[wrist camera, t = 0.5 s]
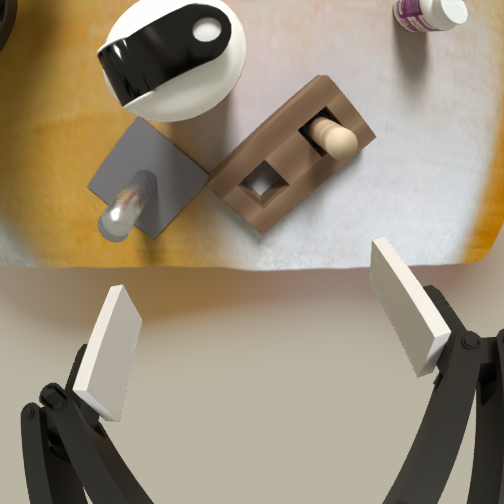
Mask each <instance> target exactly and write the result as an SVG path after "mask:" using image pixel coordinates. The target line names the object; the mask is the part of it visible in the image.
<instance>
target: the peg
mask: <svg viewBox="0 0 504 504" xmlns="http://www.w3.org/2000/svg"><path fill="white" fill-rule="evenodd" d="M156 186H157V178H156V176H155V175H154V174H153V173H152V172H151V171H149V170H140V171H138V172H137V173H136V174H135V175H134V176H133V177H132V179H131V180H130V181H129V182H128V183H127V184H126V186H125V187H124V188H123V189H122V190H121V192H120V193H119V194H118V195H117V196H116V198H115V199H114V200H113V201H112V203H111V204H110V205H109V206H108V208H107V209H106V210H105V211H104V213H103V214H102V215H101V216H100V218H99V220H98V229H99V232H100V233H101V235H102V236H103V237H104V238H105V239H107V240H108V241H111V242H121V241H123V240H125V239H126V238H127V236H128V234H129V233H130V231H131V229H132V227H133V225H134V224H135V222H136V220H137V218H138V217H139V215H140V213H141V211H142V210H143V208H144V206H145V205H146V203H147V201H148V200H149V198H150V196H151V195H152V193H153V191H154V190H155V188H156Z"/></svg>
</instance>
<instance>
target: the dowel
mask: <svg viewBox="0 0 504 504" xmlns="http://www.w3.org/2000/svg"><path fill="white" fill-rule="evenodd" d="M303 130H304V132H305V133H306V134H307V135H308V136H309V137H310V138H312V139H313V140H314V141H315V142H316V143H317V144H318V145H320V146H321V147H322V148H323V149H324V150H325V151H326V152H328V153H329V154H330V155H331V156H332V157H333V158H335V159H338V160H346V159H349V158H350V157H352V156H353V155H354V154H355V152H356V150H357V146H358V142H357V138H356V136H355V134H354V133H353V132H351V131H350V130H348V129H346V128H344V127H342V126H341V125H339V124H337V123H335V122H333V121H331V120H329V119H327V118H325V117H323V116H321V115H319V114H316V115H315V116H313V117H312V118H311V119H310V120H309V121H308V122H306V123H305V124H304V125H303Z"/></svg>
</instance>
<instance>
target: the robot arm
mask: <svg viewBox="0 0 504 504" xmlns="http://www.w3.org/2000/svg"><path fill="white" fill-rule="evenodd" d="M16 9H17V0H0V51H1V49H2V48H3V46H4V44H5V42H6V40H7V38H8V36H9V34H10V31H11V29H12V26H13V23H14V19H15V15H16ZM369 281H370V283H371V285H372V287H373V289H374V291H375V293H376V294H377V296H378V298H379V300H380V302H381V304H382V306H383V308H384V310H385V311H386V313H387V315H388V317H389V319H390V321H391V323H392V325H393V327H394V329H395V331H396V333H397V335H398V337H399V339H400V341H401V343H402V345H403V347H404V349H405V351H406V354H407V356H408V358H409V360H410V362H411V364H412V366H413V369H414V371H415V373H416V375H417V377H418V378H419V377H421V376H424V375H426V374H430V373H432V372H433V370H434V368H435V366H436V365H437V367H438V369H439V371H440V372H439V374H438V376H437V377H436V379H435V381H434V383H433V384H435V386H434V389H433V392H432V395H431V398H430V401H429V404H428V406H427V409H426V412H425V415H424V417H423V420H422V423H421V425H420V428H419V430H418V433H417V435H416V437H415V440H414V442H413V444H412V447H411V449H410V451H409V453H408V455H407V458H406V460H405V462H404V464H403V466H402V468H401V470H400V472H399V474H398V476H397V478H396V480H395V482H394V484H393V486H392V487H391V489H390V491H389V493H388V495H387V496H386V498H385V500H384V502H383V503H382V504H437V503H438V501H439V498H440V497H441V494H442V492H443V490H444V487H445V485H446V483H447V480H448V478H449V475H450V473H451V470H452V468H453V465H454V462H455V460H456V457H457V454H458V451H459V448H460V445H461V442H462V439H463V436H464V433H465V429H466V426H467V422H468V419H469V415H470V411H471V407H472V403H473V399H474V394H475V390H476V433H475V434H476V435H475V448H474V459H473V468H472V476H471V482H470V489H469V494H468V500H467V504H504V329H502V330H500V331H499V333H498V335H497V336H496V337H487V338H480V336H479V335H477V334H476V333H474V332H472V331H467V330H466V329H465V327H464V325H463V324H462V322H461V321H460V319H459V318H458V316H457V315H456V313H455V312H454V310H453V309H452V308H451V307H450V305H449V303H448V302H447V301H446V300H445V298H444V296H443V295H442V293H441V292H440V291H439V290H438V289H436V288H435V287H434V286H432V285H429V286H425V287H422V286H421V285H420V283H419V282H418V281H417V279H416V278H415V276H414V275H413V274H412V272H411V271H410V269H409V268H408V267H407V265H406V264H405V262H404V261H403V260H402V258H401V257H400V256H399V254H398V253H397V252H396V250H395V249H394V248H393V246H392V245H391V244H390V242H389V241H388V240H387V239H386V237H383V238H378V239H373V240H372V250H371V265H370V278H369ZM141 324H142V319H141V317H140V315H139V313H138V312H137V310H136V308H135V306H134V304H133V303H132V301H131V299H130V298H129V296H128V293H127V292H126V290H125V288H124V286H123V285H118V286H112V287H111V288H110V291H109V293H108V295H107V298H106V300H105V302H104V305H103V307H102V310H101V312H100V315H99V317H98V320H97V322H96V325H95V327H94V330H93V333H92V335H91V338H90V340H89V343H88V344H83V346H82V347H81V348H80V350H79V351H78V353H77V355H76V358H75V362H74V363H73V366H72V369H71V372H70V375H69V378H68V381H67V384H66V387H65V390H64V389H62V388H61V386H59V384H57V383H50V384H48V385H46V386H45V387H44V388H43V389H42V391H41V393H40V396H39V401H40V403H42V404H43V405H44V406H45V407H42V408H40V407H39V406H38V405H37V404H36V403H33V402H32V403H28V404H27V405H26V406H25V407H24V408H23V410H22V412H21V436H22V449H23V459H24V468H25V475H26V482H27V488H28V494H29V499H30V504H88V502H87V499H86V496H85V493H84V489H85V490H86V492H87V494H88V496H89V498H90V499H91V501H92V503H93V504H154V503H153V502H152V500H151V499H150V498H149V497H148V495H147V494H146V492H145V491H144V490H143V488H142V487H141V486H140V484H139V483H138V482H137V480H136V479H135V477H134V476H133V474H132V473H131V471H130V470H129V468H128V467H127V465H126V464H125V462H124V461H123V459H122V458H121V456H120V455H119V453H118V451H117V450H116V448H115V447H114V445H113V443H112V442H111V440H110V438H109V437H108V435H107V433H106V431H105V429H104V428H103V426H102V424H101V423H100V422H99V421H98V420H99V416H101V417H102V418H104V419H105V420H106V421H116V422H120V417H121V412H122V407H123V401H124V397H125V392H126V387H127V382H128V378H129V373H130V369H131V364H132V360H133V356H134V352H135V348H136V343H137V340H138V336H139V332H140V328H141ZM83 487H84V489H83Z"/></svg>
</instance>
